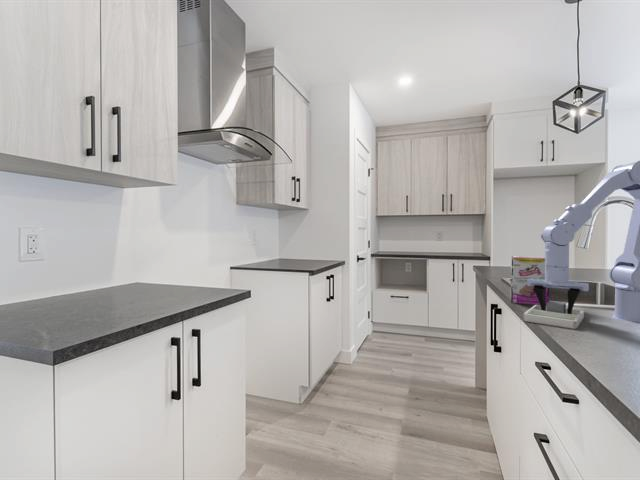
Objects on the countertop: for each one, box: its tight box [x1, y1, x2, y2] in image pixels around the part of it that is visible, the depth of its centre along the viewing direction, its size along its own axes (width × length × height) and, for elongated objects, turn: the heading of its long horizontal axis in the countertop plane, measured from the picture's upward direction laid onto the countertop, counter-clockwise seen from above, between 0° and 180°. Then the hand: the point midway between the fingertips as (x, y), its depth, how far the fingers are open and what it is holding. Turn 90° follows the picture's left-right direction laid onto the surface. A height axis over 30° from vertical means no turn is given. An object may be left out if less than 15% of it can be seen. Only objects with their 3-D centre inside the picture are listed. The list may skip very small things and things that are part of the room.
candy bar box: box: [510, 255, 550, 306], centre depth 117 cm, size 11×5×16 cm, turn 62°
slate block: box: [547, 300, 567, 314], centre depth 100 cm, size 4×4×4 cm
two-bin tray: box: [522, 305, 585, 330], centre depth 97 cm, size 15×12×2 cm
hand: (556, 312), depth 100 cm, fingers open, 6 cm apart
